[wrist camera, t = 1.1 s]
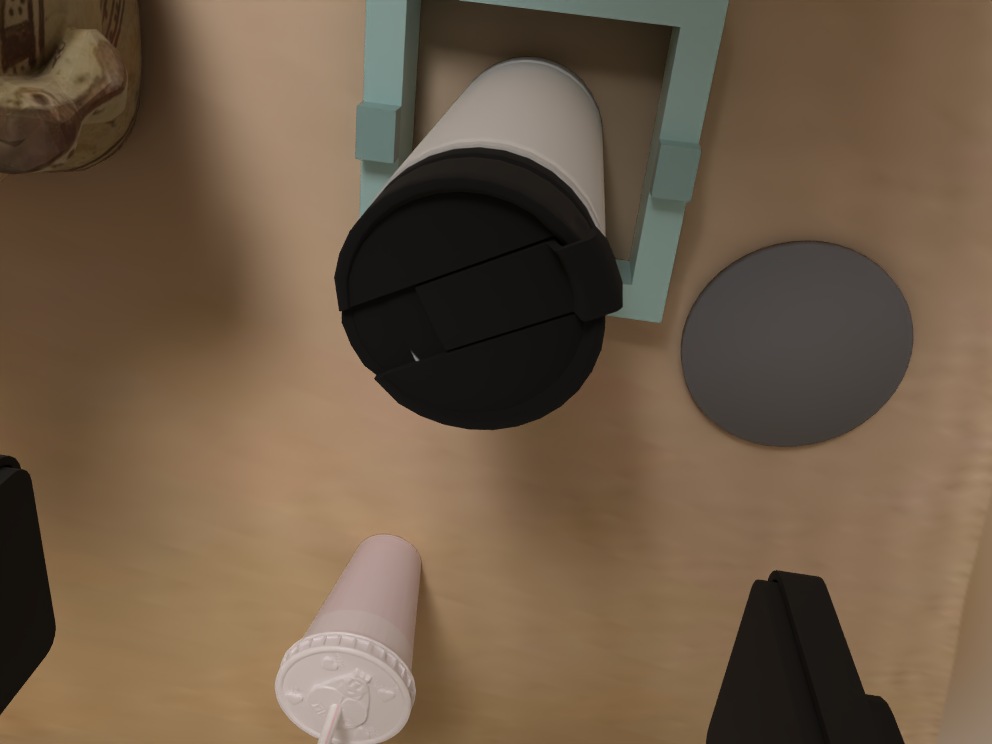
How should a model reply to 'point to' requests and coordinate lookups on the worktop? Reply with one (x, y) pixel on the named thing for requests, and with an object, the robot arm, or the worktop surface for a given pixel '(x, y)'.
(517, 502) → the worktop surface
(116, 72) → the ceramic vessel
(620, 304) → the travel mug
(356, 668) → the smoothie
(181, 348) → the worktop surface
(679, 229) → the dock collar
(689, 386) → the pad
